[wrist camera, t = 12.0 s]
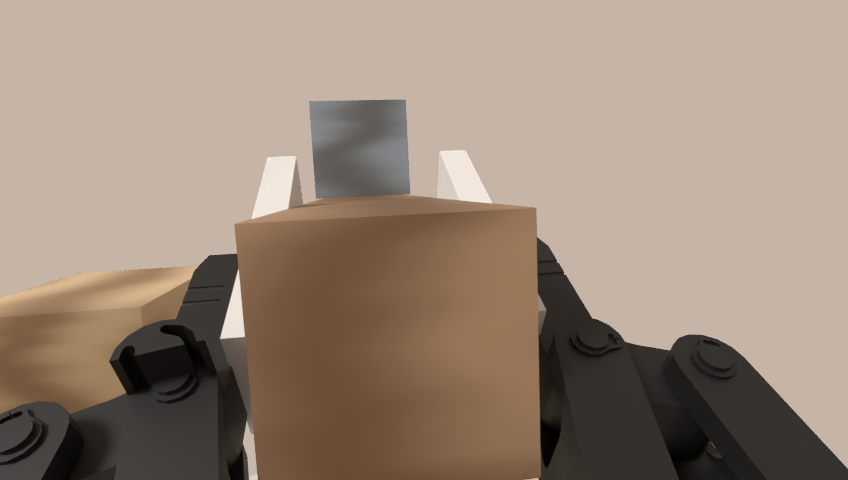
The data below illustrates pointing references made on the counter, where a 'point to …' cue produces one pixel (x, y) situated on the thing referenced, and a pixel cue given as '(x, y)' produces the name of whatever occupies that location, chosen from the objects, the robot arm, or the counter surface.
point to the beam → (389, 320)
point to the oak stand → (79, 333)
